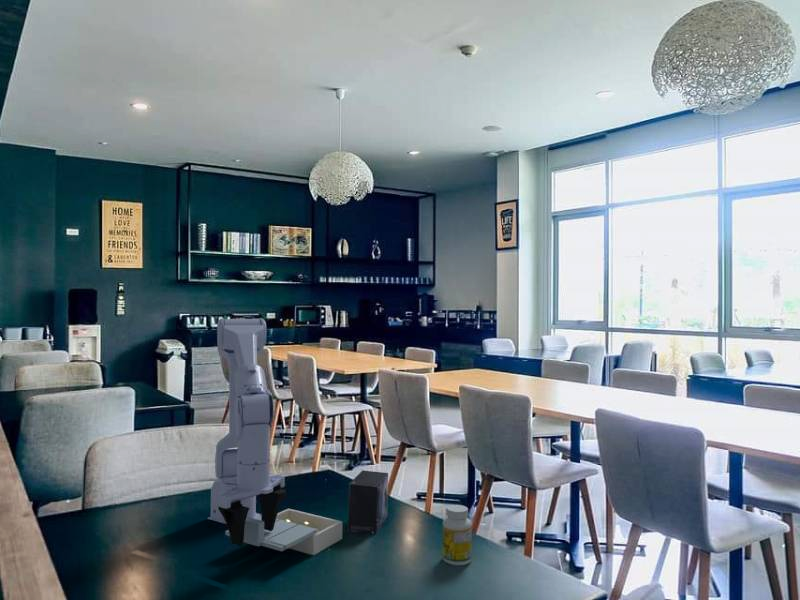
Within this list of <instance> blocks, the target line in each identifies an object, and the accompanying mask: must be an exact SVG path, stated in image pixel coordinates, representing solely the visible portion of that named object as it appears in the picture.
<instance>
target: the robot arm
mask: <svg viewBox="0 0 800 600" xmlns="http://www.w3.org/2000/svg"><path fill="white" fill-rule="evenodd" d="M216 327H217V328H216V329H217V330H216V331H217V332H216V333H217V337H216V339H217V341H216V342H217V352H218V356H220V357H221V358H225V359H226V361H227V365H228V374H229V375H228V376H229V377H228V379H229V380H228V382H229V383H228V384H229V387H228V388H229V391H228V393H229V394H228V396H229V397H228V400H229V401H228V403H229V404H228V408H229V409H228V410H229V411H228V419H229V421H228V426H229V427H228V428H229V429H228V433H227V434H226V435H225V436H223V438H221V439H220V440H219V441H218V442H217V443H216V446H215V454H214V455H215V458H214V460H215V461H214V470H215V471H214V473H215V477H216V479H215V480H214V481H213V483H212V485H211V489H210V516H209V517H207V520H212V521H215V522H219V523H222V524H226V526H227V527H226V528H227V530H229V534H230V536H229V537H230V542H231V544H233V545H235V546H239V547H240V546H242V545H243V544H244V542H243V541H244V528H245V521H246V518H247V517H249V518H253V519H255V518H257V517H260V516H261V520H262V521H264V530H268V531H272V530H273V529H274V525H275V521H276V517H277V514H278V513H279V510H280V508H281V505H282V503H283V501H284V499H285V498H286V496H287V490H286V489H283V488H284V487H285V486H286V483H285V482H286V480H285V479H286V477H285V475H279V474H275V475H272V476H271V426H272V425H273V423H274V416H275V401H274V398H273V394H272V392H271V389H268V387H267V386H268V385H267V380H266V379H267V378H266V375H265V374H266V373H265V370H264V368H263V367H262V366H260V365H258V356H260V355H261V354H262V352H263V349H264V347H265V345H266V342H267V323H266V321H265V319H264V318H263V317H259V318H220V319H218V320H217V326H216ZM257 497H258V500H259V506H260V513H257V511H256V510H257V508H256V506H257V499H256V498H257Z"/></svg>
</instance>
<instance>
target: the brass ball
mask: <svg viewBox="0 0 800 600" xmlns="http://www.w3.org/2000/svg"><path fill="white" fill-rule="evenodd" d="M298 525H303V526H307V527H311V525H310V523H309V522H307V521H300V522H299V523H298ZM311 528H312V527H311Z"/></svg>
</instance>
